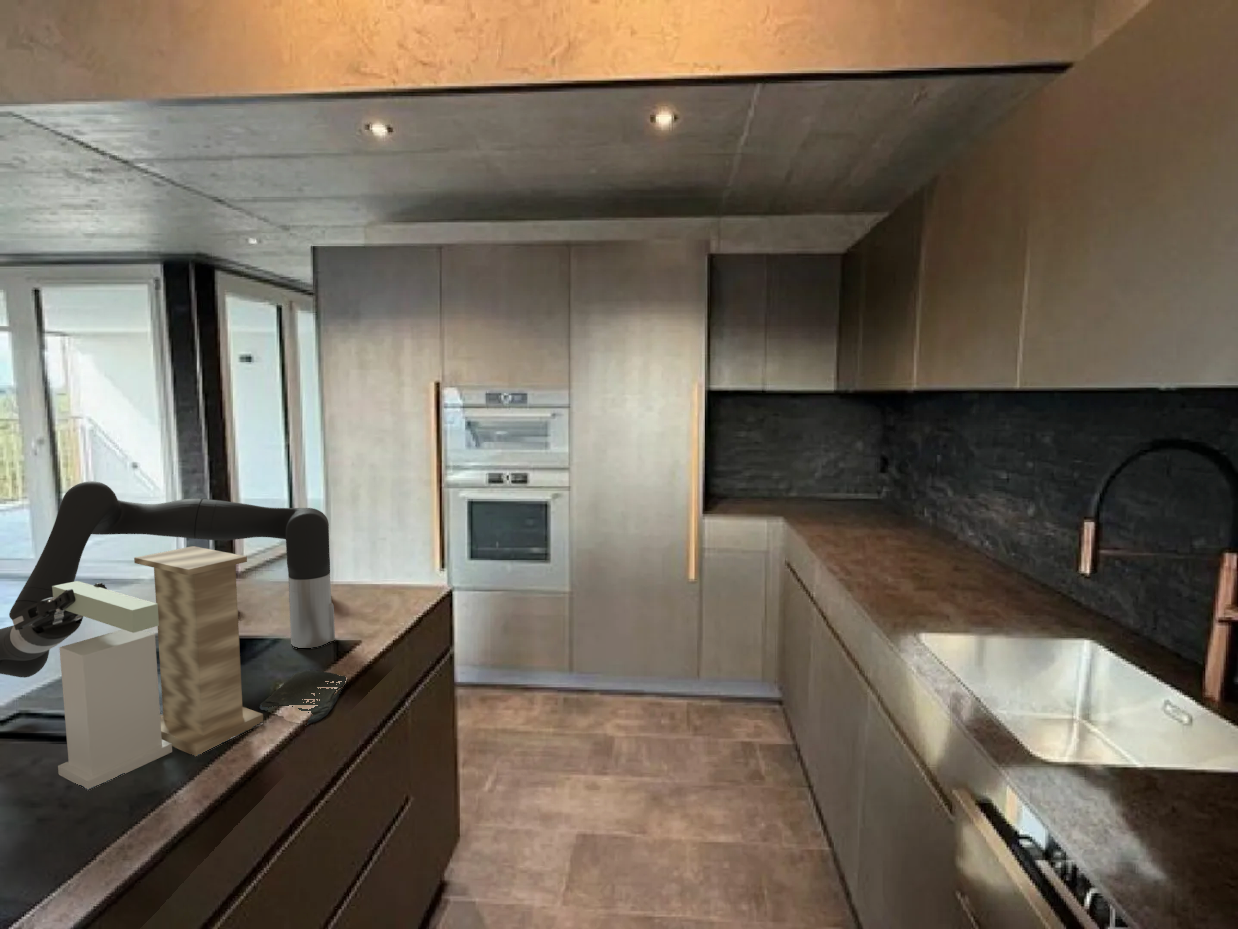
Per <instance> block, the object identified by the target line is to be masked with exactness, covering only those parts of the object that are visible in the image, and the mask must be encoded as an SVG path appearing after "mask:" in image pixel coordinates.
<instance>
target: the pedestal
mask: <svg viewBox="0 0 1238 929" xmlns="http://www.w3.org/2000/svg"><path fill="white" fill-rule="evenodd" d="M156 643H157V642H156V634H155V633H154V632H153V633H152V632H149V631H146V630H142V631H138V632H134V633H132V632H129V631H126V630H123V629H119V630H116V631H112V632H109V633H105V634H101V635H98V636H94V637H91V638H87V639H84V640H79V641H76V642H73V643H69V644H66V645H62V646H59V647H58V648H59V657H60V672H61V686H62V693H63V694H62V696H63V709H64V710H63V711H64V719H65V720H64V721H65V735H66V745H67V747H66V748H67V758H68V759H67V760H68V761H66V762H62V763H61V764H58V765H57V769H58V770H57V771H58V772H57V773H58V776H60V777H62V778H63V779H66V780H68V781H69V782H71V783H73V784H75V783H76V784H75V785H77V784H78V785H77V786H79V785H82V786H84V787H85V788H87V789H89V788H91V787H93V786H96V785H99V784H101V783H103V782H106V781H107V780H110V779H112V780H114V779H113V778H115V777H117V776H118V775H120V774H122V773H125V774H127V773H129V772H131V771H132V772H133V771H134V770H136V769H138V768H140V767H143V766H145V765H147V764H149V763H151V762H154V761H156V760H157V759H160V758H162V757H164V756H166V755H169V754H170V753H173V746H172V743H169V742H167V741H165V740H162V737H161V721H160V715H161V711H160V709H161V708H160V692H159V691H160V690H159V677H158V675H159V674H158V663H157V662H158V661H157V646H156ZM117 778H118V777H117ZM115 779H116V778H115ZM110 781H111V780H110ZM106 783H107V782H106ZM99 786H100V785H99Z"/></svg>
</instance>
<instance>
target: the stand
mask: <svg viewBox="0 0 1238 929" xmlns="http://www.w3.org/2000/svg"><path fill="white" fill-rule="evenodd" d="M133 559H134V564H135V565H141V566H145V567H151V568H153V574H154V576H153V577H154V590H155V592H154V593H155V603H157V604H158V619H159V626H157V638H158V655H159V670H160V671H159V672H160V682H161V683H160V684H161V687H160V688H161V700H162V701H161V702H162V703H161V704H162V714H160V721H161V737H162V740H165V741H167V742H169V743H172V748H175V749H178V750H179V751H181V752H185V753H187V754H189V755H191V754H192V755H191V756H193V755H195V756H194V757H196V756H197V755H198V754H201V755H203V754H204V753H203V752H205V751H207V750H209V749H211V748H213V747H215V746H217V745H219V744H221V743H222V742H225V741H227V740H228V739H230V738H231V737H233V736H236V735H238V734H240V733H242V732H244V731H245V730H249V729H251V728H252V727H253V726H255V725H257V724H259V723H260V722H262V721H263V722H264V713H261V712H258V711H257V710H252V709H249V708H247V707H246V706H243V693H242V670H241V656H240V655H241V653H240V633H239V632H240V631H239V630H240V629H239V612H238V608H239V607H238V592H237V572H236V571H237V568H236V565H240V564H243V563H248V557H247V555H243V554H235V553H232V552H225V551H221V550H215V549H210V548H205V547H199V546H194V545H193V546H187V547H181V548H178V549H177V548H176V549H171V550H168V551H162V552H161V551H160V552H156V553H151V554H145V555H141V556H135V557H133ZM221 745H222V744H221ZM219 746H220V745H219ZM217 747H218V746H217ZM215 748H216V747H215ZM213 749H214V748H213ZM211 750H212V749H211ZM209 751H210V750H209ZM207 752H208V751H207ZM202 753H203V754H202ZM205 753H206V752H205ZM197 757H198V756H197Z"/></svg>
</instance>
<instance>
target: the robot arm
mask: <svg viewBox="0 0 1238 929" xmlns="http://www.w3.org/2000/svg"><path fill="white" fill-rule="evenodd" d="M329 524H330V523H329V519H328V518H327V516H326V514H325V513H323V511H321V510H320V509H316V508H314V507H313V508H312V507H270V506H269V507H266V506H260V505H254V504H249V503H242V502H234V501H226V500H220V499H219V500H218V499H206V498H185V499H184V498H183V499H178V500H171V501H167V502H163V503H161V502H160V503H139V502H133V501H132V502H131V501H124V500H119V499H118V498H117V495H116V493H115V492H114V490H113V489H112V488H111V487H110V486H108V485H106V484H105V483H103V482H99V481H94V480H93V481H89V480H88V481H84V482H81V483H77V484H75V485H72V487H71V488H69V489H68V490H67V491H66V492H65V494H64V495H63V497H62V499H61V502H60V505H59V509H58V512H57V514H56V517H55V520H54V524H53V526H52V528H51V530H50V534H49V536H48V538H47V541H46V543H45V546H44V547H43V550H42V552H41V554H40V557H39V558H38V560H37V562H36V565H35V567H34V568H33V569H32V571H31V573H30V575H29V577H28V579H27V580H26V582H25V584H24V586H23V587H22V589H21V591H20V593H19V594H18V596H17V598H16V599H15V602H14V603H13V605H12V607H11V609H10V611H9V618H10V619H11V620H12V623H13V625H9V626H6V627H3V628H0V675H6V676H11V677H17V678H29V677H32V676H34V675H36V674H37V673H39V672H40V671H41V670H42V669H43V668H44V666H45V665H46V663H47V662H48V659H49V654H50V650H51V649H53V648H55V647H57V646H58V645H59V644H61V643H62V642H63V641H65V640H66V639H67V638H68V637H70V636H71V635H72V634H73V633H75V632H76V631H77V630H78V629H79V628H80V627H81V624H82V622H83V619H84V616H81V615H78V614H75V613H72V612H69V611H66V610H64V609H66V608H68V607H69V606H70V605H71V604H73V603H74V602H75V600H76V599H75V596H74V591H73V589H68V590H66V591H64V592H63V593H62V594H61V595H59V596H58V597H53V590H52V586H55V585H60V584H65V583H70V582H75V579H76V577H77V574H78V573H77V572H78V569H79V566H80V562H81V559H82V555H83V552H84V550H85V547H86V545H87V543H88V541H89V539H90V538H91V536H92V535H102V536H104V535H106V536H107V535H148V536H151V535H152V536H158V537H159V536H160V537H170V538H171V537H172V538H184V539H194V540H207V541H233V540H243V539H252V538H271V539H272V538H273V539H281V540H285V546H286V548H285V549H286V550H285V551H286V565H287V566H286V567H287V574H288V576H287V577H288V597H289V601H288V602H289V622H290V623H289V625H290V645H291V644H292V645H293V646H295V647H298V648H311V647H317V646H320V645H323V644H326V643H328V642H329V641H331V640H335V641H336V638H335V637H336V636H335V634H336V633H335V631H336V630H335V606H334V603H333V602H332V588H331V587H332V586H331V584H332V582H331V556H330V553H331V552H330V525H329ZM93 585H94V586H96V587H101V588H104V589H108V588H107V587H106V584H103V582H96V583H94V584H93ZM328 644H329V643H328ZM326 645H327V644H326ZM317 648H318V647H317ZM311 649H312V648H311Z"/></svg>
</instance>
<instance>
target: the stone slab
mask: <svg viewBox="0 0 1238 929" xmlns="http://www.w3.org/2000/svg"><path fill="white" fill-rule="evenodd" d="M337 674H338V673H333V672H329V671H328V672H327V671H321V670H313V669H310V670H309V669H308V670H307V669H306V670H303V671H298V672H295V673H294V674H292V676H291V677H289V679H287V680H286V681H285V682H283V684H282V685H281V686H280V687H278V688H277V689H276V690H275V691H273V692H274V693H273V694H272V693H271V694H272V695H271V694H270V695H271V696H270V695H269V696H268V697H267V698H266V699H264V700H265V701H264V700H263V701H264V702H263V701H262V702H263V703H262V702H260V704H259V705H262V707H268V708H269V707H272V706H273V707H274V706H278V707H279V706H289V705H318V706H315V707H314V708H311V709H309V710H308V709H302V708H298V709H299V710H301V711H311V713H312V714H313V716H311V717H310V719H309V720H308V723H307V725H309V724H312V723H316V722H318V721H320V720H322V719H323V718H325V717H326V716H327V715H329V713H330V711H331V710H332V709H333V708H334V705H335V704H336V702H337V701H338V699H339V698H340V695H341V693H342V691H343V690H342V688H341V687H343V685H344V684H345V681H346V677H347V676H346V675H343V676H341V674H339V675H340V676H339V675H337ZM345 676H346V677H345ZM325 681H329V682H325ZM332 681H334V683H330V682H332ZM338 681H342V682H340V684H339V683H336V682H338ZM327 683H328V684H327ZM336 684H337V685H336ZM317 687H338V688H337V689H334V688H333V689H331V688H329V689H326V688H321V689H320V688H319V689H318V688H317ZM339 688H341V689H340V690H339V691H338V693H337V694H335V695H334V693H335V692H336V690H338V689H339ZM341 690H342V691H341ZM340 692H341V693H340ZM311 693H315V696H314V695H313V694H311ZM319 693H320V694H319ZM339 694H340V695H339ZM302 699H303V700H302ZM304 699H315V702H312V701H313V700H309V702H307V703H306V701H307V700H304ZM316 699H318V701H317V700H316ZM319 699H320V701H319ZM303 702H304V703H303ZM310 702H312V703H310ZM313 703H315V704H313ZM292 707H293V706H292ZM308 713H309V712H308ZM307 725H306V726H307Z"/></svg>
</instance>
